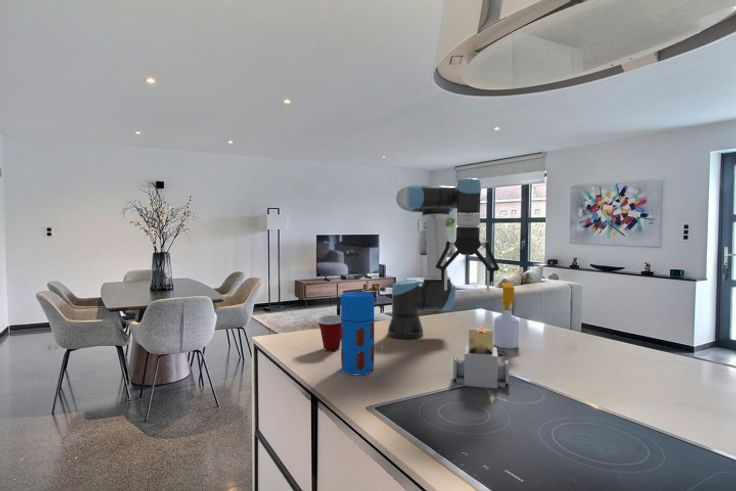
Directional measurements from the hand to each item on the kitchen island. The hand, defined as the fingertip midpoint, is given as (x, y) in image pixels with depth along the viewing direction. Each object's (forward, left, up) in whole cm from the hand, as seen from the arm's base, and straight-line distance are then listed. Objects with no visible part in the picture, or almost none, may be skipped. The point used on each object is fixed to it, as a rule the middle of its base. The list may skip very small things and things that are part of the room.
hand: (466, 290), depth 143 cm
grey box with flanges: (+5, -12, -26) cm, 29 cm away
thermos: (-34, -11, -26) cm, 44 cm away
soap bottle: (+15, +30, -26) cm, 42 cm away
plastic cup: (-50, +9, -26) cm, 57 cm away
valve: (+5, -12, -19) cm, 23 cm away
